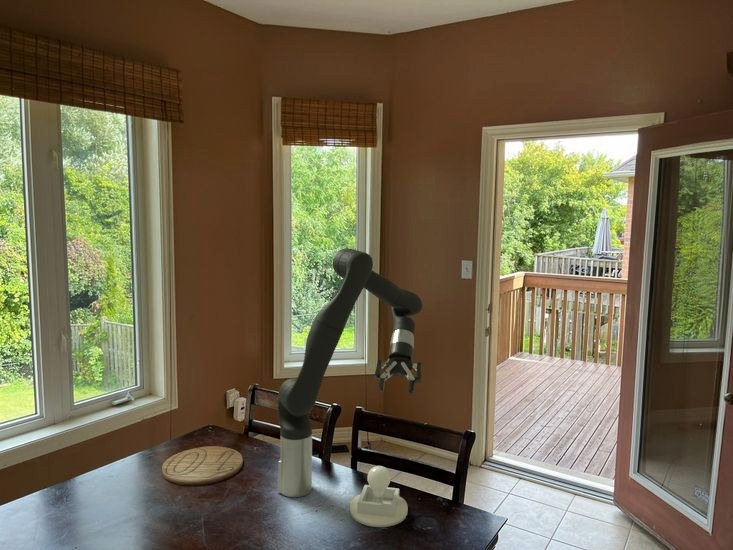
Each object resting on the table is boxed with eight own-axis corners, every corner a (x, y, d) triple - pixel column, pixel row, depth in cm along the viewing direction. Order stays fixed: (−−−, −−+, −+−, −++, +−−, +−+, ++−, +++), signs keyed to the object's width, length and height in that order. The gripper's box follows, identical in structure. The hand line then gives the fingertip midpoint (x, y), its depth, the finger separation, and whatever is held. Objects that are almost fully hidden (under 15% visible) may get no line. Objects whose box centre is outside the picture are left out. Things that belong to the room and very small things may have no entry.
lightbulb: (387, 512, 142) (388, 473, 141) (364, 509, 143) (365, 470, 142) (391, 500, 148) (392, 463, 147) (369, 497, 149) (370, 460, 148)
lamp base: (343, 523, 139) (344, 506, 139) (356, 493, 155) (356, 478, 154) (403, 530, 136) (404, 513, 136) (410, 499, 152) (410, 484, 151)
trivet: (250, 452, 183) (250, 446, 183) (232, 487, 158) (231, 481, 158) (178, 451, 183) (178, 445, 183) (149, 486, 158) (148, 480, 158)
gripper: (378, 339, 168) (371, 384, 157) (423, 341, 165) (418, 388, 155) (381, 352, 173) (374, 396, 163) (424, 354, 170) (420, 400, 160)
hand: (396, 392), depth 159 cm, fingers open, 8 cm apart
